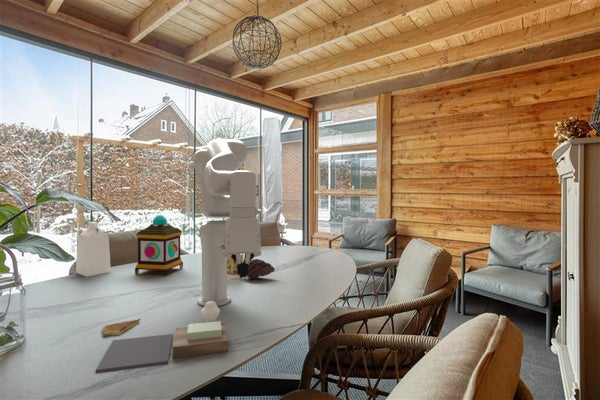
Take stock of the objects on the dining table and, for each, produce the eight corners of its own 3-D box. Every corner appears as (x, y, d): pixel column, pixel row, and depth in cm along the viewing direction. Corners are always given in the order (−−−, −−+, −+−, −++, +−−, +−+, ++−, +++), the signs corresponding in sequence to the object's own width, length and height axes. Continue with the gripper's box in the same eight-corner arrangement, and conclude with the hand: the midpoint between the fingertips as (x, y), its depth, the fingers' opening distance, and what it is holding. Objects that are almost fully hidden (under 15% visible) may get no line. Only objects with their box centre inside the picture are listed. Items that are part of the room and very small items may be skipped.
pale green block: (187, 340, 89) (187, 333, 89) (188, 331, 95) (188, 324, 95) (221, 336, 92) (221, 329, 92) (220, 327, 97) (220, 321, 97)
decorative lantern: (153, 266, 185) (153, 213, 184) (186, 267, 183) (186, 213, 182) (130, 275, 166) (130, 215, 165) (167, 277, 163) (167, 216, 162)
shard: (140, 323, 109) (140, 317, 108) (144, 331, 102) (144, 325, 102) (102, 330, 103) (102, 324, 103) (103, 340, 96) (103, 333, 96)
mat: (113, 342, 94) (113, 340, 94) (173, 335, 98) (173, 333, 98) (95, 372, 78) (95, 369, 78) (167, 362, 83) (167, 360, 83)
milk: (75, 272, 169) (75, 222, 168) (99, 268, 179) (99, 220, 178) (86, 276, 162) (86, 224, 161) (110, 271, 172) (110, 222, 171)
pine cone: (275, 276, 166) (275, 257, 166) (273, 282, 156) (273, 261, 156) (240, 275, 167) (241, 256, 167) (236, 281, 157) (236, 260, 157)
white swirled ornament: (220, 324, 107) (220, 303, 107) (200, 326, 105) (200, 304, 105) (219, 317, 113) (219, 297, 113) (200, 319, 111) (200, 298, 111)
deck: (176, 338, 97) (176, 328, 97) (224, 332, 101) (224, 323, 101) (172, 358, 85) (172, 347, 85) (227, 351, 89) (227, 340, 89)
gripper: (266, 212, 101) (265, 272, 101) (215, 213, 97) (215, 275, 97) (270, 214, 94) (270, 278, 94) (216, 214, 89) (216, 281, 90)
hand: (242, 276), depth 96 cm, fingers closed
